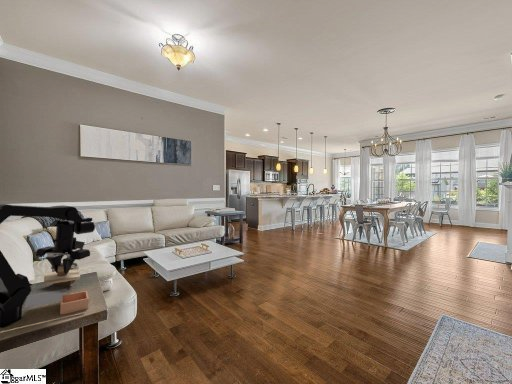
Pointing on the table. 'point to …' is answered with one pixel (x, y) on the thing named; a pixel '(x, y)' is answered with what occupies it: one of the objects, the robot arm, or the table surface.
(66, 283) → the food container
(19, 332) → the table surface
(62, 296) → the open box
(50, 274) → the lid
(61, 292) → the mat
